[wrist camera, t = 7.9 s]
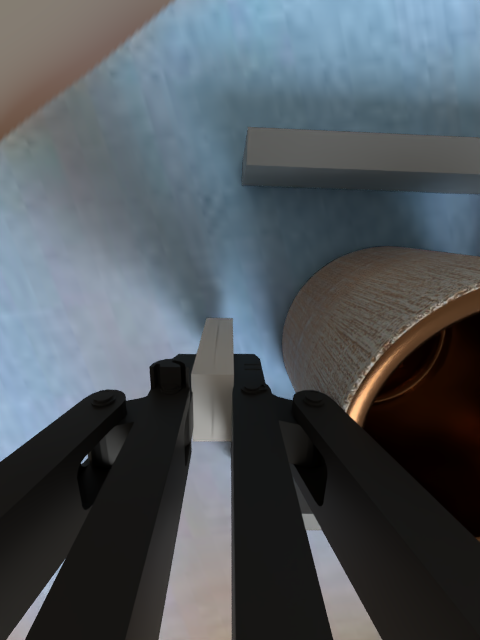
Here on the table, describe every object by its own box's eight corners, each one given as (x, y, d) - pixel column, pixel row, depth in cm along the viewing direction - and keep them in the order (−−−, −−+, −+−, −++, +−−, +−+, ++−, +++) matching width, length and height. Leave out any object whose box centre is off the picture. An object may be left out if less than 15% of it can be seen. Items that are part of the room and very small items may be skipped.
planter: (424, 209, 16) (686, 180, 7) (471, 367, 19) (697, 495, 10) (249, 299, 17) (270, 377, 8) (319, 434, 20) (393, 603, 11)
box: (233, 461, 21) (234, 530, 16) (242, 160, 15) (247, 127, 10) (446, 461, 21) (509, 528, 16) (532, 172, 16) (665, 145, 11)
